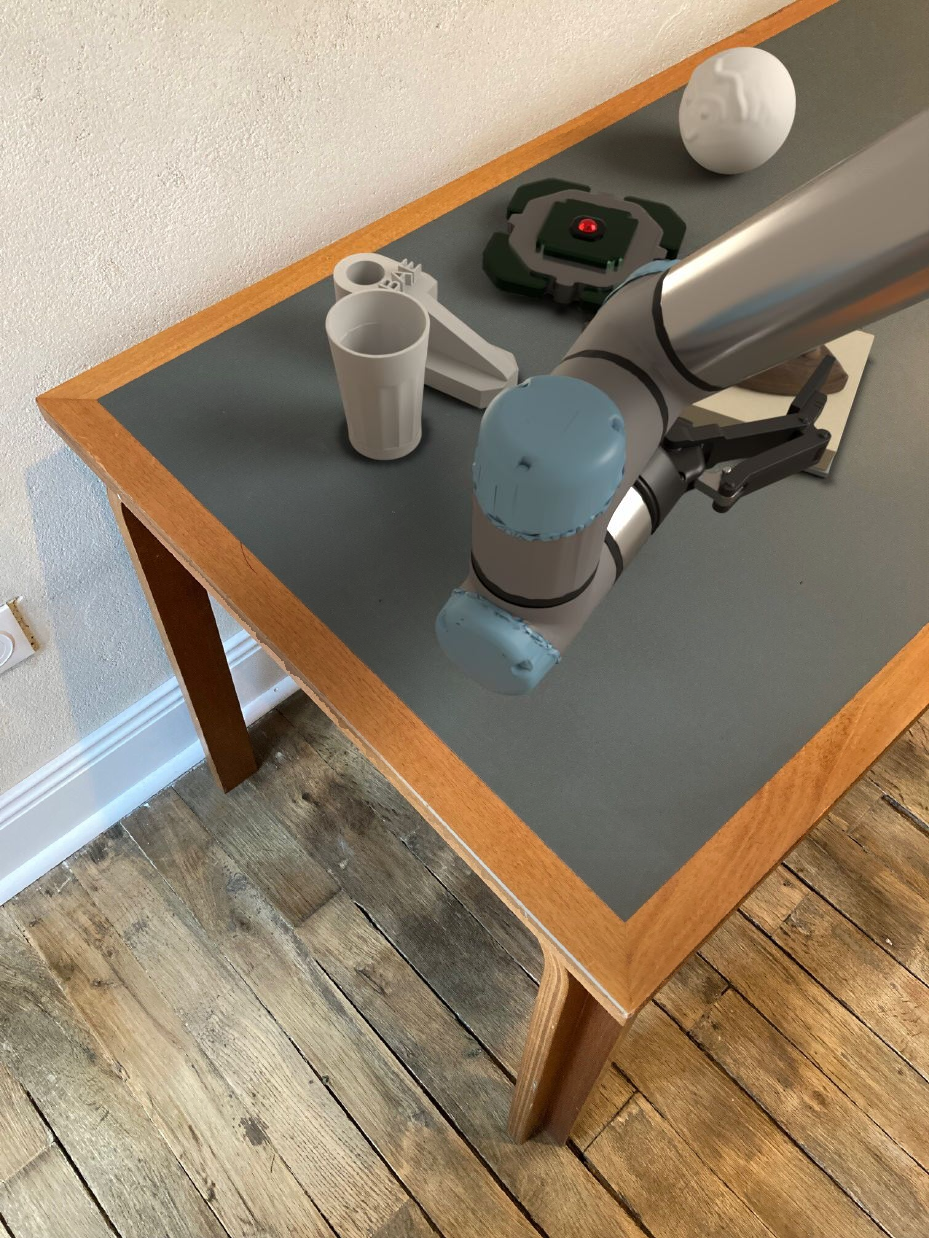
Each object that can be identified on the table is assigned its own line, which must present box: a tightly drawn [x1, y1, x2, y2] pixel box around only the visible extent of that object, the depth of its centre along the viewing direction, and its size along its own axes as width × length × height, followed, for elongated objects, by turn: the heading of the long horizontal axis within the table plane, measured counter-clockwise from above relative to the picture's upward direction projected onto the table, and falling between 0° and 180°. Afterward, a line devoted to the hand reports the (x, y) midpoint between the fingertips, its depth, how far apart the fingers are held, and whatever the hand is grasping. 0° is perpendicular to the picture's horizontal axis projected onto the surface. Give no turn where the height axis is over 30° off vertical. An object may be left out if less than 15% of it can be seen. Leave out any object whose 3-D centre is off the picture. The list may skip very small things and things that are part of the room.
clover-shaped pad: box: [481, 177, 687, 315], centre depth 94 cm, size 18×18×5 cm
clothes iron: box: [736, 345, 849, 395], centre depth 79 cm, size 14×10×11 cm
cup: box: [325, 288, 430, 461], centre depth 77 cm, size 8×8×12 cm
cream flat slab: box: [678, 329, 875, 479], centre depth 85 cm, size 18×16×3 cm
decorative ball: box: [678, 46, 797, 175], centre depth 100 cm, size 12×12×12 cm
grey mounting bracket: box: [332, 252, 519, 409], centre depth 84 cm, size 6×18×8 cm, turn 59°
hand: (744, 333), depth 73 cm, fingers open, 13 cm apart
